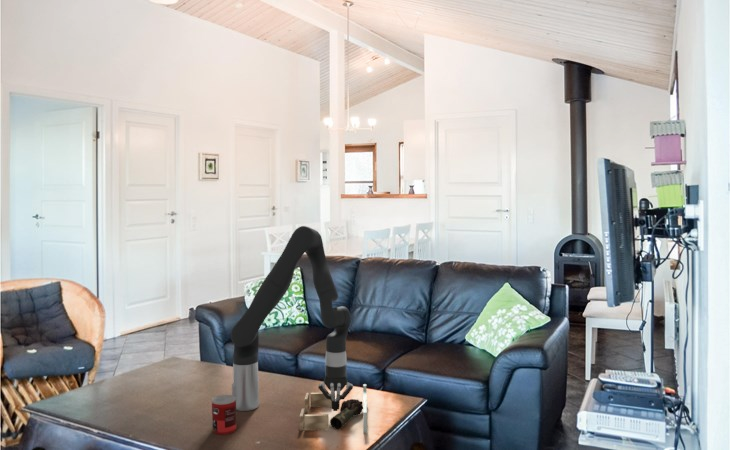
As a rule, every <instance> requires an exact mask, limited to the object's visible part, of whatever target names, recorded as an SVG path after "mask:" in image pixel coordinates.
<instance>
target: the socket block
mask: <svg viewBox="0 0 730 450" xmlns="http://www.w3.org/2000/svg"><path fill="white" fill-rule="evenodd" d="M328 392H329V391H328ZM329 394H330V395H331V391H330V392H329ZM317 407H318V408H319V407H321V408H323V407H331V408H332V401H331V400H330V399H327V398H326V397H325V396H324V394H323V393H322V392H306V393H305V397H304V408H301V411H300V414H299V431H329V430H330V429H329V427H330V420H329V414H328V413H324V414H321V413H319V414H318V413H316V414H315V413H314V414H306V413H308V411H309V408H317Z"/></svg>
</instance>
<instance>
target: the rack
mask: <svg viewBox="0 0 730 450" xmlns="http://www.w3.org/2000/svg"><path fill="white" fill-rule="evenodd" d="M362 388H363V389H362V390H363V391H362V396H363V397H362V398H363V399H362V400H363V401H362V402H363V403H362V406H363V409H362V412H363V413H362V415H363V418H362V419H363V421H362V422H363V423H362V424H363V434H368V405H367V401H368V399H367V384H366V383H364V384H362Z"/></svg>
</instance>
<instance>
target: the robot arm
mask: <svg viewBox="0 0 730 450" xmlns="http://www.w3.org/2000/svg"><path fill="white" fill-rule="evenodd" d="M304 254H306V256H307V257H308V260H309V262H310V265H311V269H312V281H313V286H314V289H315V293H317V296H318V300H319V308H320V319H321V323H322V325H324V327H325V328H327V329H329V330H331V329H334V330H333V331H332V332H331V333H329V334H328V335H327V336H326V340H325V341H326V342H325V343H326V344H325V346H326V347H325V358H324V359H325V362H324V363H325V369H324V372H325V373H324V374H325V376H324V378H323V381H322V382H320V383H318V386H317V387H318V390H319V391H320V393H323V394H324V396H325V397H326V398H327V399H330V400H331V401H332V407H331V410H333V412H338V410H340V408H341V404H340V402H341V400H345V398H346V397H347V396H348V395H349V394H350V392H351V391H352V390H353V389H354V385H353V383H350V382H348V377H347V361H348V359H347V352H346V351H347V336H348V333H349V330H350V325H351V320H352V316H351V312H350V310H349V308H347V307H346V306H344V305H343V306H342V305H341V306H336V307H333V303H335V302H336V301H337V300H338V299H339V293H338V290H337V288H336V286H335V282H334V280H333V277H332V274H331V271H330V269H329V265H328V261H327V257H326V253H325V248H324V242H323V239H322V235H321V233H319V231H317V230H316V229H315V228H312V227H310V226H307V225H301V226H299V227H297V228H296V229H295V230H294V231H293V233H292V234H291V236H290V238H289V239H288V241H287V244H286V245H285V248H284V249H283V251H282V252H281V254H280V256H279V258H278V259H277V260H276V262H275V264H274V265H273V267H272V269H270V271H269V273H268V274H267V275H266V277H265V278H264V280H263V281H262V283H261V285H260V286H259V289H258V290H257V291H256V294H255V296H254V297H253V299H252V302H251V303H250V305H249V306H248V308H247V310H246V311H245V312H244V314H243V315H242V316H241V318H239V320H238V321H236V323H235V324H234V325H233V327H232V328H231V331H230V338H231V339H230V340H231V341H232V343H233V354H232V369H233V370H232V371H233V373H232V374H233V375H232V376H233V377H232V378H233V379H232V380H233V381H232V384H231V395H233V396H235V397H236V411H238V412H239V411H241V412H246V411H247V412H248V411H253V410H256V409H257V408H259V405H260V399H259V398H260V397H259V396H260V395H259V394H260V393H259V392H260V391H259V390H260V389H259V351H260V350H259V348H260V347H259V342H260V341H259V336H260V335H259V330H260V328H261V326H262V324H263V323H264V321H265V320H266V319H267V318H268V316H269V315H270V313H272V311H273V310H274V309H275V308H276V306H277V305H278V304H279V303H280V302H281V300H282V299H283V297H284V296H285V294H286V293H287V291H288V290H289V288H290V286H291V285H292V282H293V278H294V272H295V269H296V266H297V264H298V263H299V261H300V259H301V258H302V257H303V256H304ZM326 387H327V389H328V390H329V391H330V392H331V395H330V394H329V391H328V390H327V389H326ZM344 388H345V390H344V391H343V392H342V393H341V391H342V390H343V389H344Z"/></svg>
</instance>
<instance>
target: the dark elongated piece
mask: <svg viewBox="0 0 730 450" xmlns="http://www.w3.org/2000/svg"><path fill="white" fill-rule="evenodd" d="M339 411H340V412H338V413H337V414H335V415H333V417H331V419H330V420H329V425H330V426H331V428H333V429H335V430H337V431H340V430H341V429H342V428H343V427H344V426H346V424H347V423H349V421H351V420H352V418H354V417H355V416H360V415H361V413H362V412H363V401H360V400H359V399H353V398H350V399H347V400H346V401H345V400H343V402H341V405H340V408H339Z"/></svg>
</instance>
